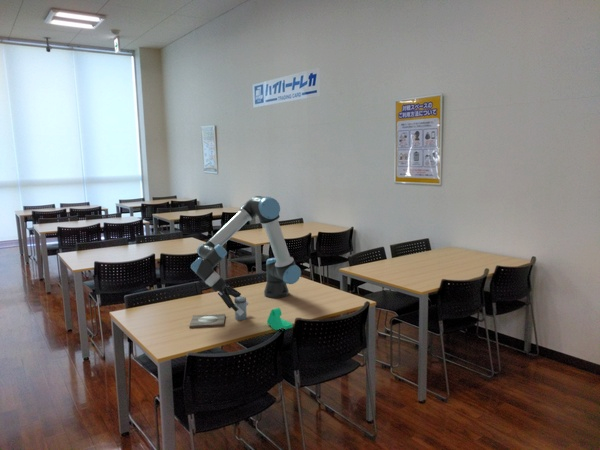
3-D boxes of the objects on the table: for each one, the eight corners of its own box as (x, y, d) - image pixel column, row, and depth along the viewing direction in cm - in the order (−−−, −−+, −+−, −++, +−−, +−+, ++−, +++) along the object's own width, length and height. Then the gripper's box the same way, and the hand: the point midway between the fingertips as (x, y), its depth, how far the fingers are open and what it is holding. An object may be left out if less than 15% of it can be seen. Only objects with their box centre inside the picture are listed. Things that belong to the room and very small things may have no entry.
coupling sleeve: (235, 316, 246) (234, 296, 244) (246, 316, 246) (246, 296, 245) (234, 320, 240) (234, 300, 238) (246, 320, 240) (246, 299, 239)
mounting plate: (193, 317, 245) (193, 315, 245) (225, 316, 246) (225, 313, 246) (189, 328, 230) (189, 325, 230) (223, 326, 232) (223, 323, 231)
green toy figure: (293, 329, 227) (293, 309, 226) (280, 332, 223) (280, 312, 221) (279, 322, 237) (279, 303, 235) (267, 325, 232) (266, 306, 230)
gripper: (216, 280, 254) (244, 306, 255) (204, 293, 229) (234, 322, 230) (225, 271, 253) (253, 297, 254) (214, 283, 228) (245, 312, 229)
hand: (244, 309), depth 242 cm, fingers open, 13 cm apart
